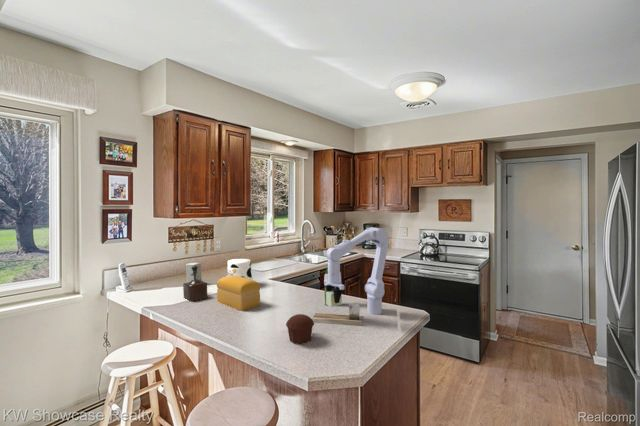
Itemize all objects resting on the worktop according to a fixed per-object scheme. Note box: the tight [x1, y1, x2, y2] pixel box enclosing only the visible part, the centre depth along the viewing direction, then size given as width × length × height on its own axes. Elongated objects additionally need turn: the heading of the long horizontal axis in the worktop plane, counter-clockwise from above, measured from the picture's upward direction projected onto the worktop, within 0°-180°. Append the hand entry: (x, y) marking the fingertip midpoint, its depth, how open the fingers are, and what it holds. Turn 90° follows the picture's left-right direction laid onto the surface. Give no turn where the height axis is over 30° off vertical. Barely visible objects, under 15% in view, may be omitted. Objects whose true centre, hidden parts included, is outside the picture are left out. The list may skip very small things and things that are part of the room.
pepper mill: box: [182, 266, 208, 302], centre depth 193 cm, size 16×11×18 cm
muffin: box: [285, 313, 315, 345], centre depth 132 cm, size 12×11×10 cm
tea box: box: [325, 291, 343, 308], centre depth 153 cm, size 5×6×6 cm
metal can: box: [348, 302, 361, 320], centre depth 152 cm, size 5×5×7 cm
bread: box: [216, 275, 261, 312], centre depth 180 cm, size 24×13×15 cm, turn 49°
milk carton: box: [324, 268, 342, 307], centre depth 176 cm, size 9×9×20 cm
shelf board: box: [309, 312, 364, 327], centre depth 152 cm, size 12×24×3 cm, turn 78°
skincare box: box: [185, 262, 203, 283], centre depth 219 cm, size 8×7×16 cm
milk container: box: [226, 258, 254, 280], centre depth 217 cm, size 17×17×18 cm
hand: (334, 301), depth 153 cm, fingers closed on tea box, 4 cm apart
